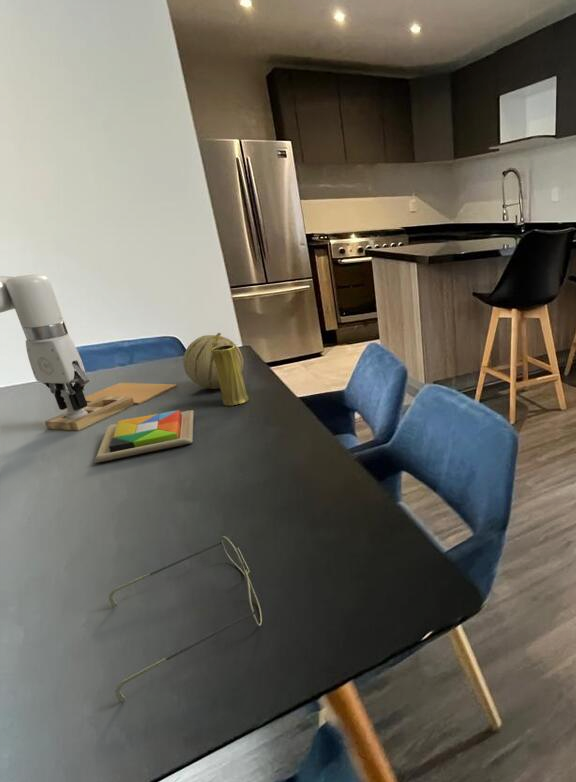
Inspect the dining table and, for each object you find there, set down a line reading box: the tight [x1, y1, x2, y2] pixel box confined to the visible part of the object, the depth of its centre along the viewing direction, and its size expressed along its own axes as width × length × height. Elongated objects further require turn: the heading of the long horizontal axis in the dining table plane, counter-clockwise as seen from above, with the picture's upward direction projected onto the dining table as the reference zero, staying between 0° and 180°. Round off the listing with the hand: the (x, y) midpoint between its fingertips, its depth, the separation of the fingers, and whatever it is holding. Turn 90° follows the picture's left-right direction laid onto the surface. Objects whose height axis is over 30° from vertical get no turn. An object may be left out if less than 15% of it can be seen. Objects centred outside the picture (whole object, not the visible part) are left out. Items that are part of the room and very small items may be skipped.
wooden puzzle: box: [93, 409, 195, 464], centre depth 106 cm, size 18×19×4 cm
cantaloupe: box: [182, 332, 244, 390], centre depth 134 cm, size 15×15×15 cm
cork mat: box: [85, 382, 178, 405], centre depth 136 cm, size 20×14×1 cm
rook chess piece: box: [60, 388, 88, 419], centre depth 117 cm, size 4×4×8 cm
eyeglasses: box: [108, 535, 263, 704], centre depth 57 cm, size 16×15×5 cm
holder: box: [44, 396, 135, 432], centre depth 121 cm, size 9×16×2 cm, turn 167°
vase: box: [212, 345, 250, 407], centre depth 122 cm, size 6×6×14 cm
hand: (73, 407), depth 117 cm, fingers closed on rook chess piece, 3 cm apart
